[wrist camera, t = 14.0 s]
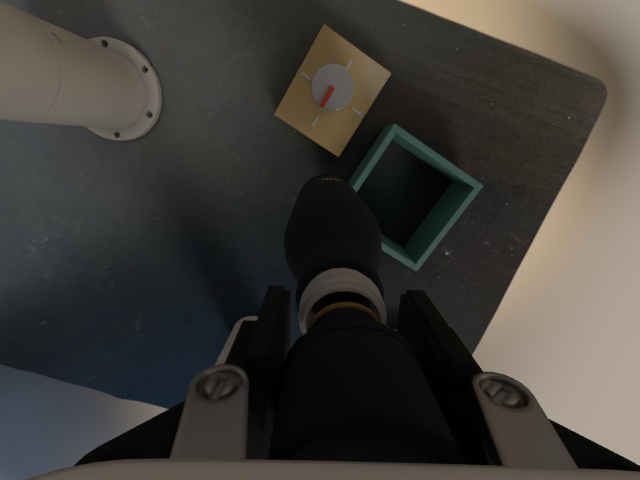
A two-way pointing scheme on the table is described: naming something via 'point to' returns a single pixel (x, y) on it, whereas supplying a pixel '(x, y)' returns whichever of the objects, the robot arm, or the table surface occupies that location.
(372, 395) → the wine bottle
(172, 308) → the table surface
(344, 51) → the tap panel
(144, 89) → the robot arm
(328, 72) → the tap knob
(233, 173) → the table surface
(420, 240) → the basin
